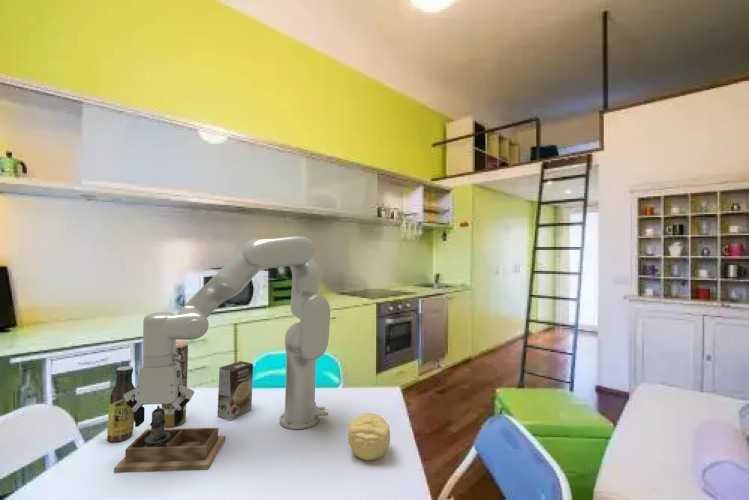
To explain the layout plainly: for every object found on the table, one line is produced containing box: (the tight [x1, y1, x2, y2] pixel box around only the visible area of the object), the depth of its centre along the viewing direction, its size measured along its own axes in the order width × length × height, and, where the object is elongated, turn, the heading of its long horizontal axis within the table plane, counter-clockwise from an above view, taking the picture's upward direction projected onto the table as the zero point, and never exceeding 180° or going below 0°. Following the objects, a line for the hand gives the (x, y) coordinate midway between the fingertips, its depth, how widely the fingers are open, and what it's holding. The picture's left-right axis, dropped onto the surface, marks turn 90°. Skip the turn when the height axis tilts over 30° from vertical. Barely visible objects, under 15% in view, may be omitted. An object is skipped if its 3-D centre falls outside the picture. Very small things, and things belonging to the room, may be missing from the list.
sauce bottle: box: [106, 365, 136, 443], centre depth 103 cm, size 7×6×20 cm
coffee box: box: [216, 360, 254, 421], centre depth 120 cm, size 9×6×16 cm
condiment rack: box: [113, 427, 226, 473], centre depth 95 cm, size 22×14×4 cm, turn 96°
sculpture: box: [347, 412, 391, 461], centre depth 98 cm, size 11×12×11 cm
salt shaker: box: [145, 404, 170, 447], centre depth 95 cm, size 6×6×12 cm
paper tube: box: [161, 340, 189, 428], centre depth 112 cm, size 7×7×25 cm
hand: (159, 423), depth 95 cm, fingers open, 9 cm apart
